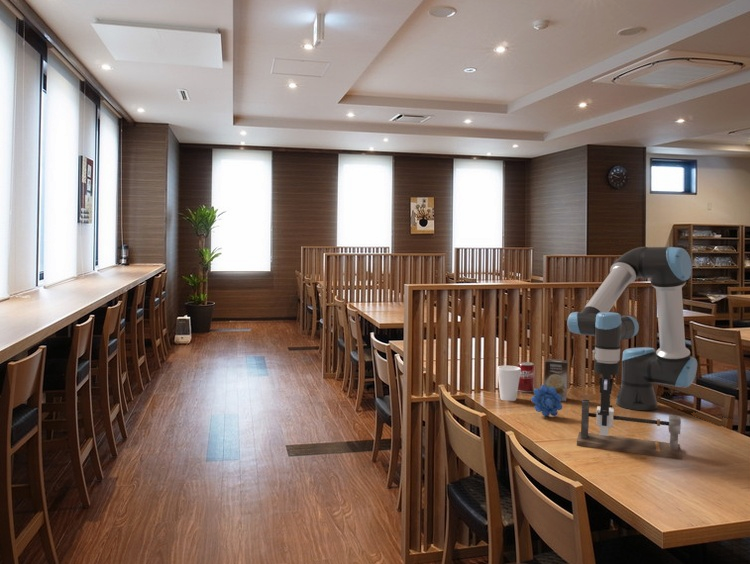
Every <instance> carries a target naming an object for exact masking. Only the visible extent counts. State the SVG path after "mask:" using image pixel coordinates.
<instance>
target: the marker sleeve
mask: <svg viewBox="0 0 750 564" xmlns="http://www.w3.org/2000/svg"><path fill="white" fill-rule="evenodd" d="M600 408H601V405H599V406H598V405H597V407H596V413H595V414H596V417H595V420H596V421H595V426H598V427H600V415H598V413H600ZM614 412H615V408H614V407H612V408H611V407H609V428H614V421H615V420H614V419H613V416H615V414H614Z"/></svg>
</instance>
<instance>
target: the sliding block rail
mask: <svg viewBox="0 0 750 564" xmlns="http://www.w3.org/2000/svg"><path fill="white" fill-rule="evenodd" d="M596 414H597V413H594V412H590V399H588V398H582V400H581V419H580V421H581V423H580V424H581V426H580V429H581V430H580V431H579V432H578V436H577V439H576V446H580V447H585V446H588V447H587V448H593V447H594V448H595V449H600V448H601V450H602V449H603V450H611V451H617V452H624V453H630V454H639V455H646V456H655V457H662V458H669V459H675V460H677V459H678V460H683V452H682V449H681V444H679V435H681V428H682V427H681V426H682V425H681V423H682V419H681V416H680V415H673V414H668V421H666V420H664V421H663V420H661V419H660V418H659V419H658V418H656V419H647V418H640V417H639V418H638V417H629V416H621V415H614V416H613V419H614V420H613V421H623V422H624V421H625V422H633V423H640V424H641V423H642V424H649V425H656V426H658V427H660V426H668V433H669V442H664V441H658V440H648V439H647V440H646V439H640V438H631V437H624V436H617V435H609V436H604V435H599V433H593V432H589V427H590V426H589V422H590V417H591V418H596ZM594 448H593V449H594Z"/></svg>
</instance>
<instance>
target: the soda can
mask: <svg viewBox="0 0 750 564" xmlns="http://www.w3.org/2000/svg"><path fill="white" fill-rule="evenodd" d="M516 367H519V368H521V374H520V378H519V385H518V391H517V392H521V393H534V389H535V364H534V363H533V362H530V361H529V362H526V361H520V362H519V361H518V363H517V366H516Z"/></svg>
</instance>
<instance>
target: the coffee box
mask: <svg viewBox="0 0 750 564" xmlns="http://www.w3.org/2000/svg"><path fill="white" fill-rule="evenodd" d="M568 365H569V361H568V360H567V359H566V360H565V359H555V358H545V362H544V383H543V385H546V386H547V387H548V389H549V388H550V387H554V388H555V389H556V391H557V392H556V394H560V395H561V397H562V400H561V401H560V402H567V393H568V391H567V390H568V369H569V368H568V367H569V366H568Z"/></svg>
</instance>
